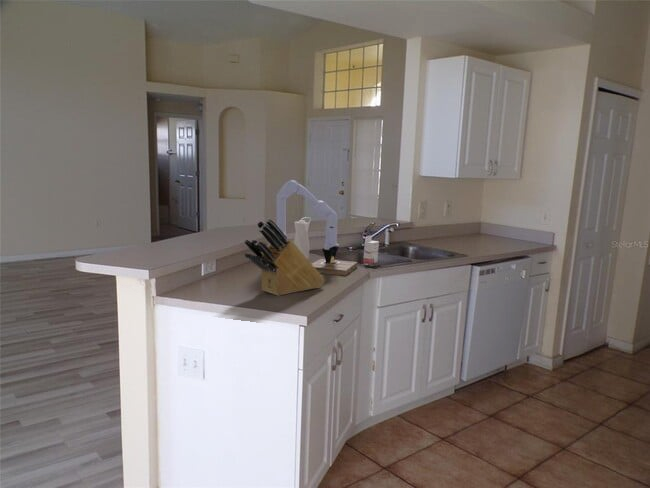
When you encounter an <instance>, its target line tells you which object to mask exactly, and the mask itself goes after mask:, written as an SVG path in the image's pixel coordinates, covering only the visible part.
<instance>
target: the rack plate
mask: <svg viewBox="0 0 650 488" xmlns="http://www.w3.org/2000/svg"><path fill="white" fill-rule="evenodd" d="M311 264H312V265H313V266H314V268H315V269H316V270H317V271H318V273H319V274H327V275H338V276H345V277H346V276H347V275H349V274H350V273H352V272H353V271H354V270H356V268H358V262H357V261H348V260H337V259H335V260H334V264H326V261H325V258H319V259H318V260H316V261H314V262H311Z"/></svg>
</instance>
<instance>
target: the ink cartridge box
mask: <svg viewBox="0 0 650 488" xmlns="http://www.w3.org/2000/svg"><path fill="white" fill-rule="evenodd" d="M372 239H373V235H366V236H365V238H364V247H363V264H367V265H373V264H375V263H378V262H379V261H378V260H379V258H378V257H379V248H380V247H379V245H380V241H377V240H372Z"/></svg>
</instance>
